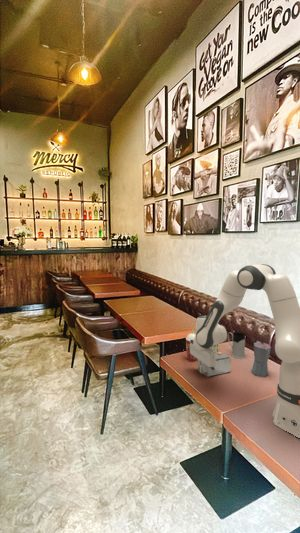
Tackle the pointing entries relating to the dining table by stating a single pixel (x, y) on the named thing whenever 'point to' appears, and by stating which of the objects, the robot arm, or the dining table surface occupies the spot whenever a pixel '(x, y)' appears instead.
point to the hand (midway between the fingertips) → (201, 367)
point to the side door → (217, 367)
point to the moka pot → (261, 358)
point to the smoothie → (188, 354)
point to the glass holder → (238, 345)
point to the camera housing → (218, 357)
